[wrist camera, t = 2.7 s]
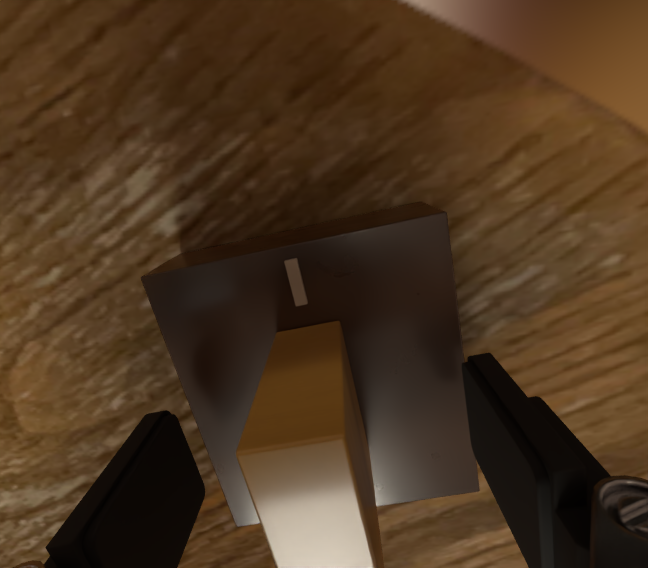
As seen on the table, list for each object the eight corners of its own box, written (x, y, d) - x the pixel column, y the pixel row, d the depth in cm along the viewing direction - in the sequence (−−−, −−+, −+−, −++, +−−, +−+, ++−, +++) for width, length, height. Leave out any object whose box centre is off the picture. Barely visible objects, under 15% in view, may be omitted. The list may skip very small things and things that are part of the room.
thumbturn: (275, 331, 11) (229, 464, 6) (340, 319, 11) (345, 445, 6) (312, 461, 13) (299, 652, 8) (369, 452, 13) (393, 641, 8)
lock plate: (179, 254, 14) (136, 278, 11) (421, 201, 13) (448, 211, 10) (252, 465, 17) (235, 531, 14) (453, 433, 16) (482, 495, 13)
